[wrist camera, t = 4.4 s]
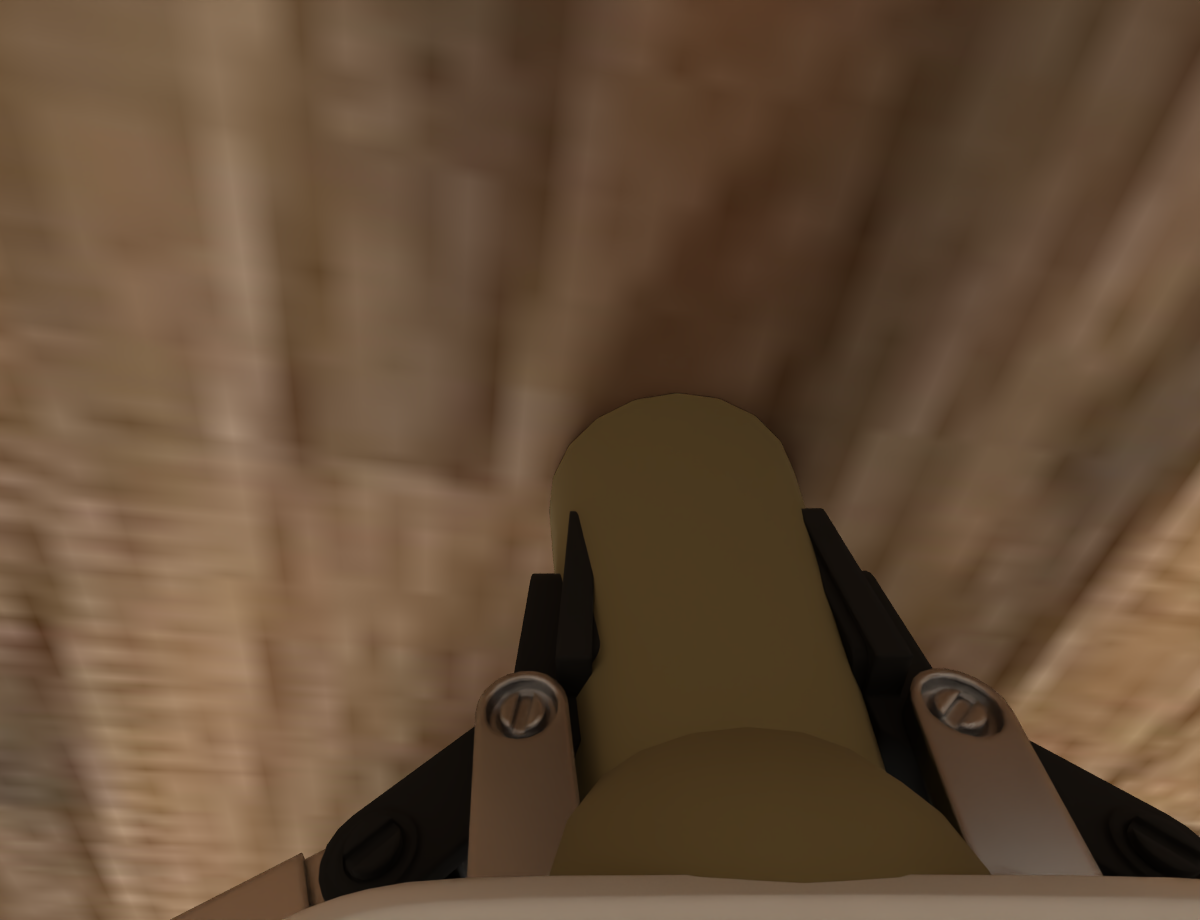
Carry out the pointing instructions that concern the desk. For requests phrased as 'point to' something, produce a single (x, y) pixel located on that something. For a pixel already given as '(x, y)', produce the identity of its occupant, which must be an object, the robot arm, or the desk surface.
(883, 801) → the tan pawn
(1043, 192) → the desk surface
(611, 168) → the desk surface
